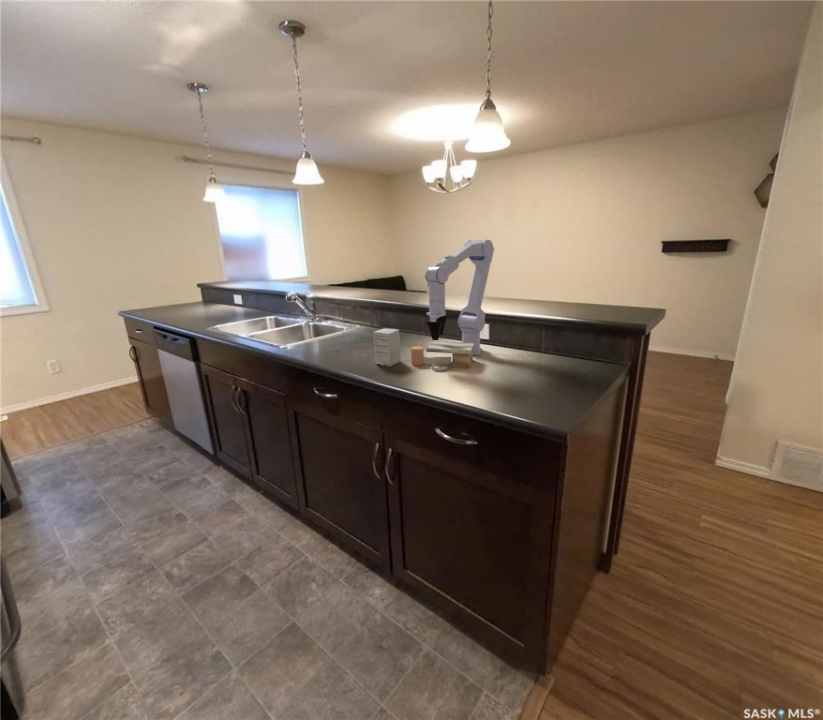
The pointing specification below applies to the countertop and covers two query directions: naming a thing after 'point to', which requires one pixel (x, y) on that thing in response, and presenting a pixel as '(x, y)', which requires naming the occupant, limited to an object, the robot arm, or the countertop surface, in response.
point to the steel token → (440, 367)
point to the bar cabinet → (455, 352)
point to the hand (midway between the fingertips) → (437, 337)
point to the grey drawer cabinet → (387, 346)
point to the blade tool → (420, 359)
